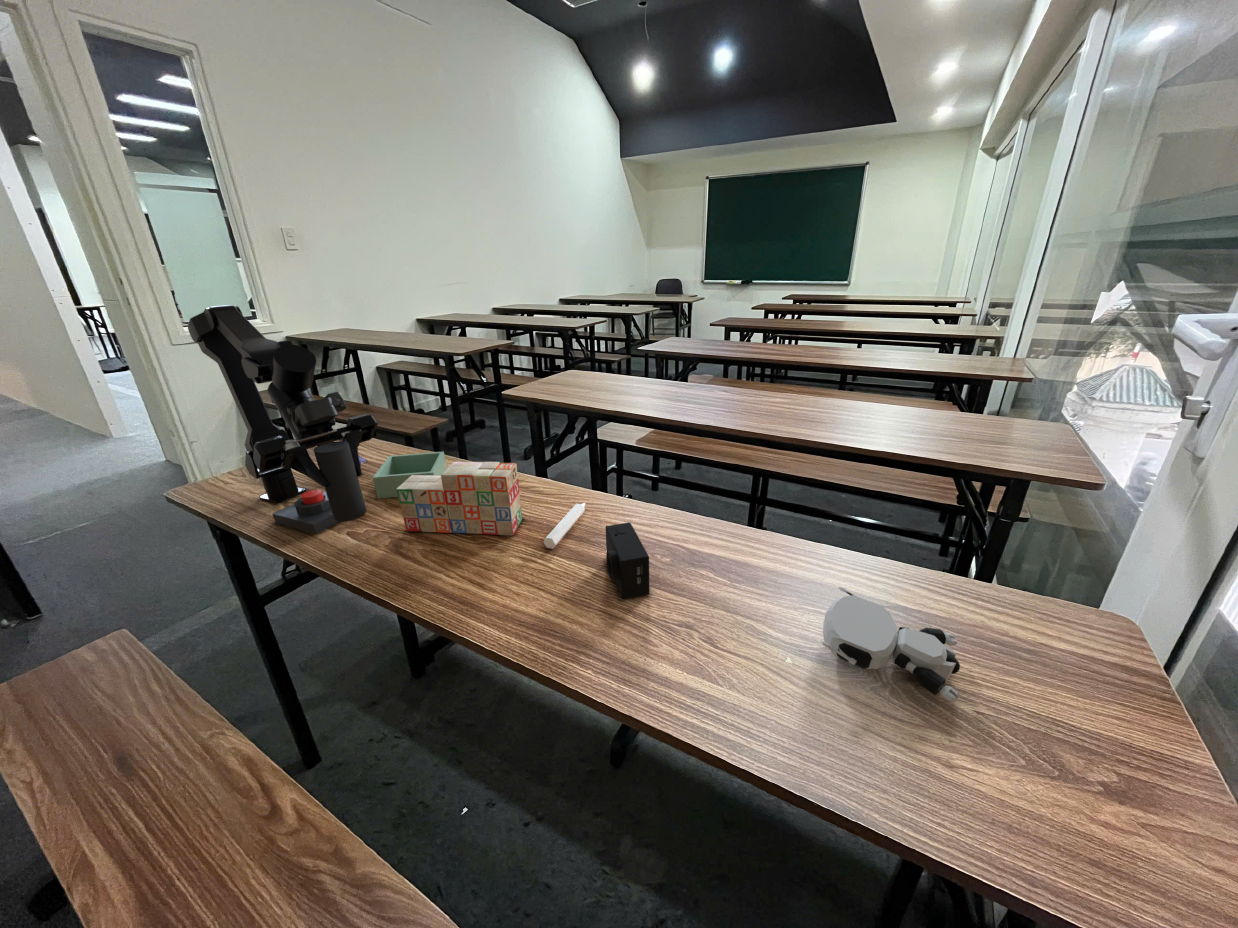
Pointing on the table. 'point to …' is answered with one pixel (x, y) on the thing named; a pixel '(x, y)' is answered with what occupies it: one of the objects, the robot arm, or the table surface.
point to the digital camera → (627, 560)
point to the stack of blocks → (463, 499)
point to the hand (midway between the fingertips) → (343, 480)
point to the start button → (312, 497)
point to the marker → (564, 526)
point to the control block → (307, 516)
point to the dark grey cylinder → (340, 480)
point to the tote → (406, 470)
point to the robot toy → (889, 643)
